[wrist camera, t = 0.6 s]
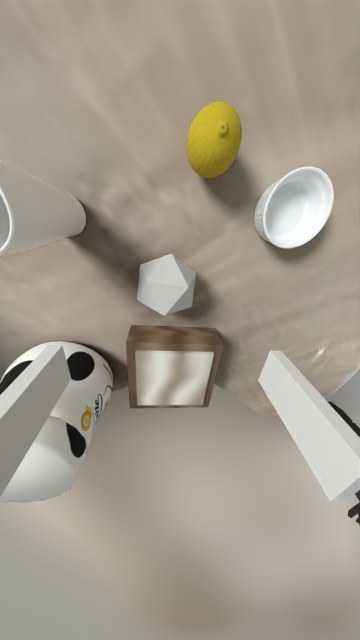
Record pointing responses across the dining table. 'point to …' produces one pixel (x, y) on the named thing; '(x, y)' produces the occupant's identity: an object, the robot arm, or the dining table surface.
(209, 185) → the dining table surface
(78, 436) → the milk container
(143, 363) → the plinth
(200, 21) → the dining table surface
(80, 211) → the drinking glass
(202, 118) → the lemon
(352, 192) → the dining table surface
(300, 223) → the ramekin
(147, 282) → the die
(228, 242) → the dining table surface
